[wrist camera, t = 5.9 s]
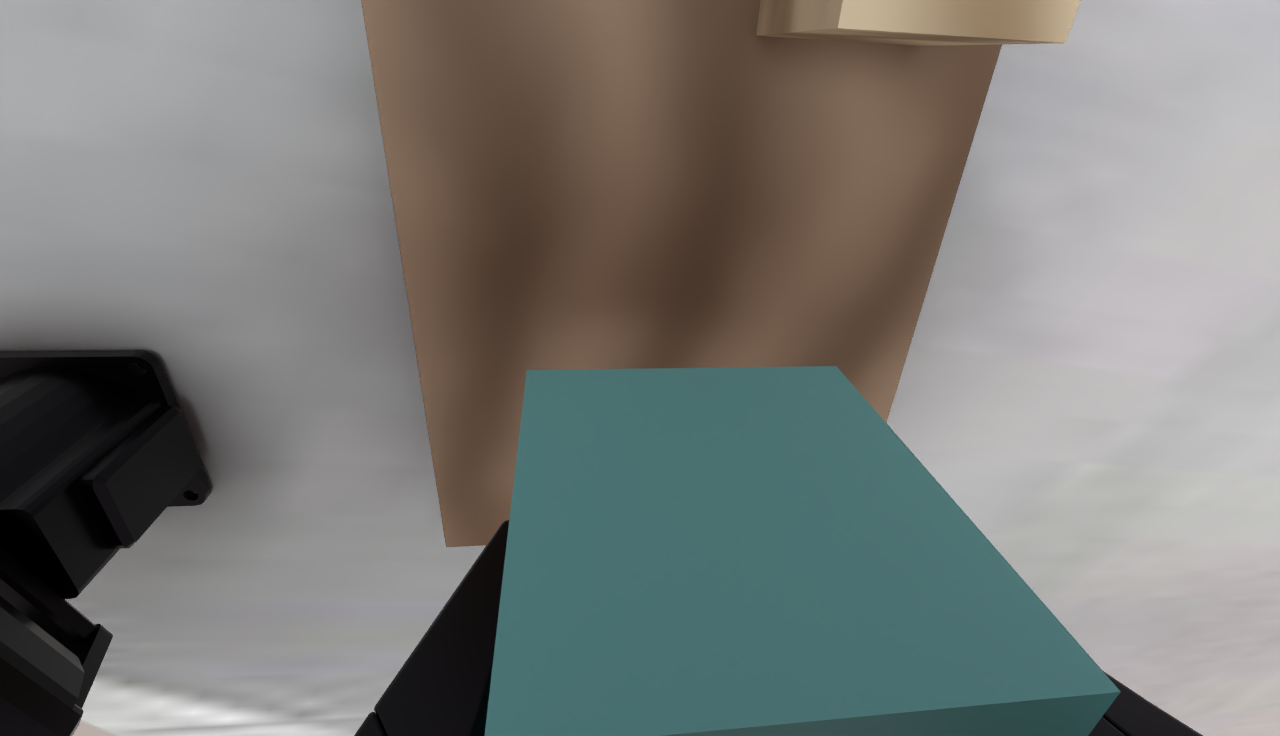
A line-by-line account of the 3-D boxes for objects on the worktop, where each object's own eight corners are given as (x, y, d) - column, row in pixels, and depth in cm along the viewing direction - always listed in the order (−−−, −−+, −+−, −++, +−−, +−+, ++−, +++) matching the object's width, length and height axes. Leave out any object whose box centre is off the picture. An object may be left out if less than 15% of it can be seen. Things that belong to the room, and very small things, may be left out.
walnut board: (451, 526, 25) (446, 547, 24) (330, -297, 13) (310, -328, 12) (843, 508, 27) (854, 526, 26) (1048, -208, 15) (1084, -227, 14)
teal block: (538, 594, 11) (519, 1003, 6) (527, 369, 9) (483, 752, 4) (784, 579, 12) (936, 940, 7) (836, 366, 9) (1120, 690, 5)
